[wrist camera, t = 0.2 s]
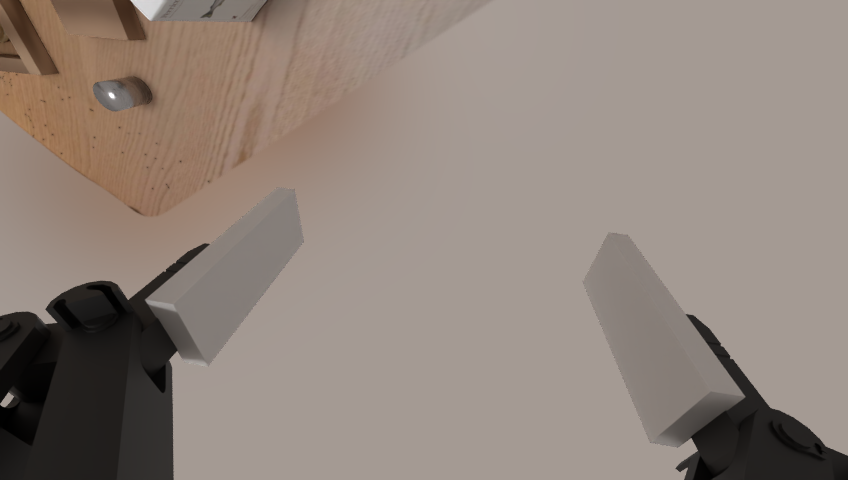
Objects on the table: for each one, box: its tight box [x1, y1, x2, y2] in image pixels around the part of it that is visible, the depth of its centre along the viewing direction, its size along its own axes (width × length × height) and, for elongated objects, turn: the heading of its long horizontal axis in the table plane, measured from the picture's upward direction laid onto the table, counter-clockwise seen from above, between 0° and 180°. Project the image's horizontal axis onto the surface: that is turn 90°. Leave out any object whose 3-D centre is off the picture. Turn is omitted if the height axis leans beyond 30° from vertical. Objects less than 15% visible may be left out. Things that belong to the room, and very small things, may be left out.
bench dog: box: [93, 77, 152, 111], centre depth 36 cm, size 3×3×4 cm
